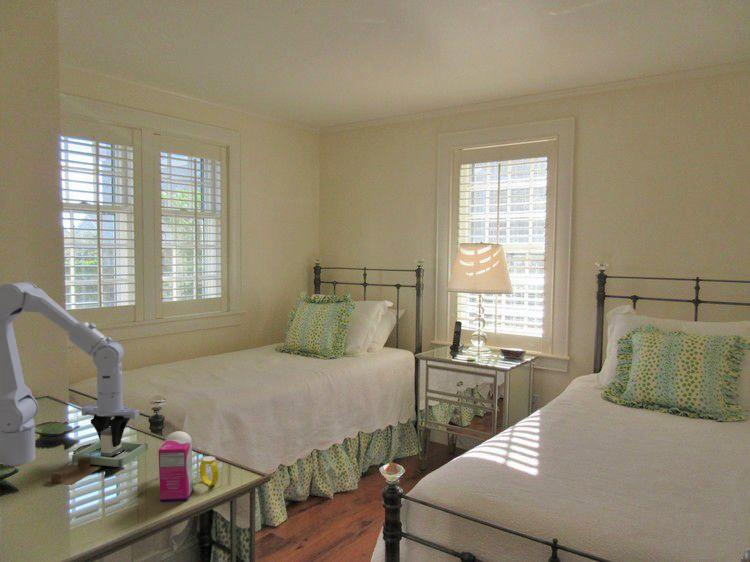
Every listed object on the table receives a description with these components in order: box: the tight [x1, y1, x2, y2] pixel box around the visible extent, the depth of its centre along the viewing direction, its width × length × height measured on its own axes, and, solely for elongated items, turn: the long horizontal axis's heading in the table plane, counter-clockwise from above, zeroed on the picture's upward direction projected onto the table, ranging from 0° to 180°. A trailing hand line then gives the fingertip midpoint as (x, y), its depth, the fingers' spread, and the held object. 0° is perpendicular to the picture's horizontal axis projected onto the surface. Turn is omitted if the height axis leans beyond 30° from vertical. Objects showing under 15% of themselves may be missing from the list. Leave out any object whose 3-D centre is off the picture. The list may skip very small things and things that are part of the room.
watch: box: [199, 455, 219, 487], centre depth 126 cm, size 6×3×6 cm, turn 47°
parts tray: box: [71, 440, 149, 468], centre depth 139 cm, size 13×11×2 cm
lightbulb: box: [164, 430, 192, 442], centre depth 128 cm, size 6×6×11 cm
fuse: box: [100, 427, 122, 458], centre depth 139 cm, size 3×4×6 cm, turn 170°
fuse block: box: [39, 457, 102, 486], centre depth 128 cm, size 8×10×3 cm
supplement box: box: [157, 438, 194, 503], centre depth 120 cm, size 6×6×12 cm
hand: (110, 444), depth 139 cm, fingers closed on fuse, 3 cm apart
